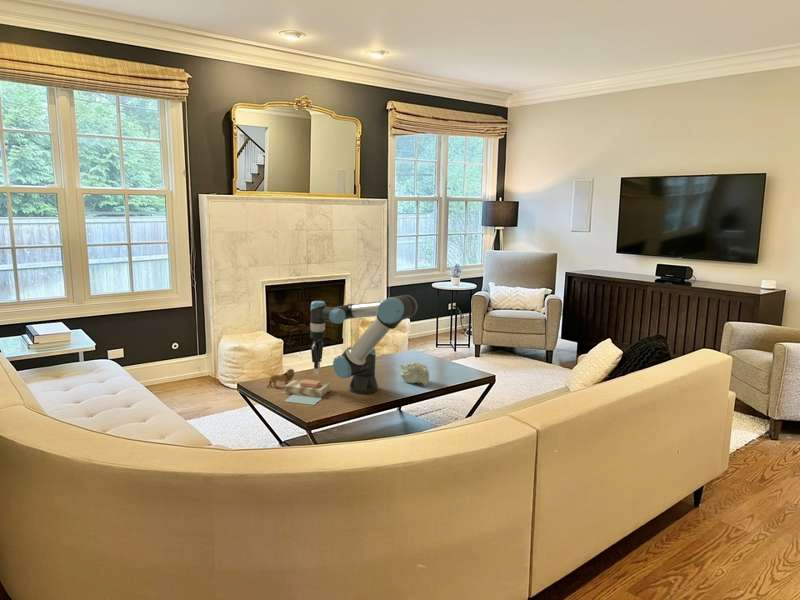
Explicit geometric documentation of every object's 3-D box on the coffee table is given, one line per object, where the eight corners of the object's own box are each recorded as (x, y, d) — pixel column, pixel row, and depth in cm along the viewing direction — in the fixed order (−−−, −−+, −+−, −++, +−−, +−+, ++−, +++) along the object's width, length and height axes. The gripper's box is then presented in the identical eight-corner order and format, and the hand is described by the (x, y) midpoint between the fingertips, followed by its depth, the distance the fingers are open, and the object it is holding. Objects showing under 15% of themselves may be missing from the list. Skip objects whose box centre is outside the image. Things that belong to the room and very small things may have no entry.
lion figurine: (292, 383, 315) (292, 367, 313) (295, 386, 310) (295, 370, 309) (265, 386, 308) (265, 370, 307) (268, 389, 304) (268, 372, 302)
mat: (322, 398, 293) (322, 397, 292) (314, 405, 282) (314, 404, 282) (293, 394, 296) (293, 394, 296) (283, 401, 286) (283, 401, 286)
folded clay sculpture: (405, 393, 325) (394, 368, 326) (423, 384, 331) (412, 359, 332) (420, 389, 309) (408, 363, 310) (439, 380, 316) (427, 354, 317)
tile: (320, 384, 301) (320, 381, 301) (316, 388, 295) (316, 384, 295) (304, 382, 303) (304, 379, 303) (299, 386, 298) (299, 382, 297)
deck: (329, 390, 305) (330, 383, 304) (321, 397, 293) (321, 390, 293) (294, 386, 310) (294, 379, 309) (284, 393, 298) (284, 385, 297)
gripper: (315, 327, 311) (315, 369, 315) (305, 332, 298) (305, 376, 302) (328, 328, 309) (328, 371, 313) (319, 333, 296) (318, 378, 300)
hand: (316, 373), depth 307 cm, fingers closed
